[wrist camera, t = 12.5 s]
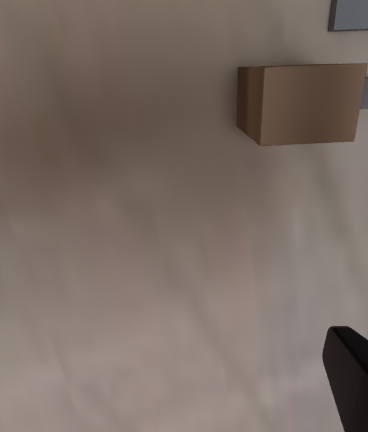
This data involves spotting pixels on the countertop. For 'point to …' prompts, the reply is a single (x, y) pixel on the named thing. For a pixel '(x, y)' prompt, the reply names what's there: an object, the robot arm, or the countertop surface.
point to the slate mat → (348, 15)
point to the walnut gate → (301, 103)
